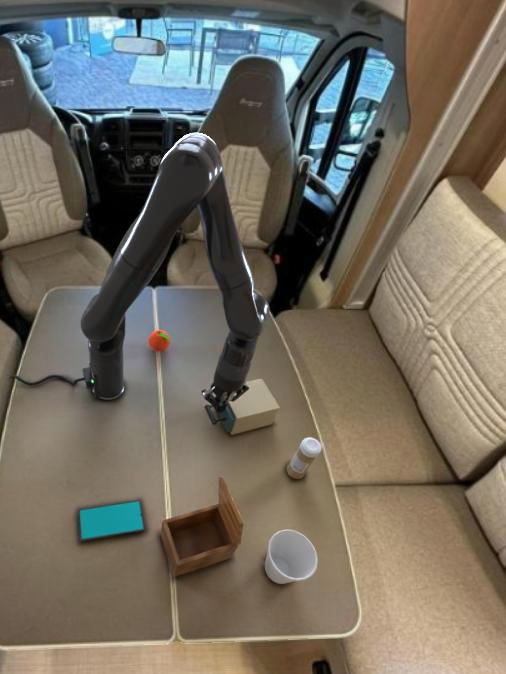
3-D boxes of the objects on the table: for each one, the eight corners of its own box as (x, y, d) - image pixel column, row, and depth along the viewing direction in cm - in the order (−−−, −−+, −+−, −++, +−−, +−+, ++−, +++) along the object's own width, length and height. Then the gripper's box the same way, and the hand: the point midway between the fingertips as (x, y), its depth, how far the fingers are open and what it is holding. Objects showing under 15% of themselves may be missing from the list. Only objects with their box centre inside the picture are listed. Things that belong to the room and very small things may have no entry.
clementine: (176, 347, 135) (178, 331, 130) (165, 360, 131) (166, 345, 126) (155, 337, 138) (156, 322, 132) (144, 350, 134) (144, 334, 128)
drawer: (213, 436, 113) (216, 423, 108) (200, 408, 118) (203, 395, 114) (264, 422, 116) (270, 409, 111) (249, 396, 122) (254, 383, 117)
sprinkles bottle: (307, 473, 107) (326, 447, 97) (295, 482, 106) (313, 457, 95) (294, 460, 110) (311, 433, 99) (282, 468, 108) (298, 442, 98)
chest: (174, 577, 90) (177, 565, 84) (160, 534, 96) (162, 520, 90) (230, 558, 93) (238, 545, 87) (213, 517, 99) (219, 503, 92)
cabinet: (231, 435, 114) (237, 418, 108) (216, 404, 121) (220, 387, 114) (272, 424, 117) (280, 407, 111) (255, 395, 123) (261, 378, 117)
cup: (250, 547, 95) (262, 531, 86) (292, 544, 96) (308, 527, 87) (262, 595, 88) (276, 582, 80) (307, 591, 89) (325, 578, 81)
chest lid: (239, 524, 75) (243, 523, 75) (218, 477, 81) (222, 475, 81) (237, 545, 86) (240, 544, 86) (218, 502, 92) (221, 501, 92)
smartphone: (77, 509, 98) (139, 500, 100) (78, 511, 99) (139, 501, 101) (79, 541, 94) (144, 530, 96) (80, 542, 94) (144, 531, 96)
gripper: (250, 352, 103) (235, 394, 116) (201, 361, 100) (191, 404, 113) (264, 374, 98) (246, 415, 111) (213, 385, 95) (201, 426, 108)
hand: (218, 409), depth 112 cm, fingers closed
